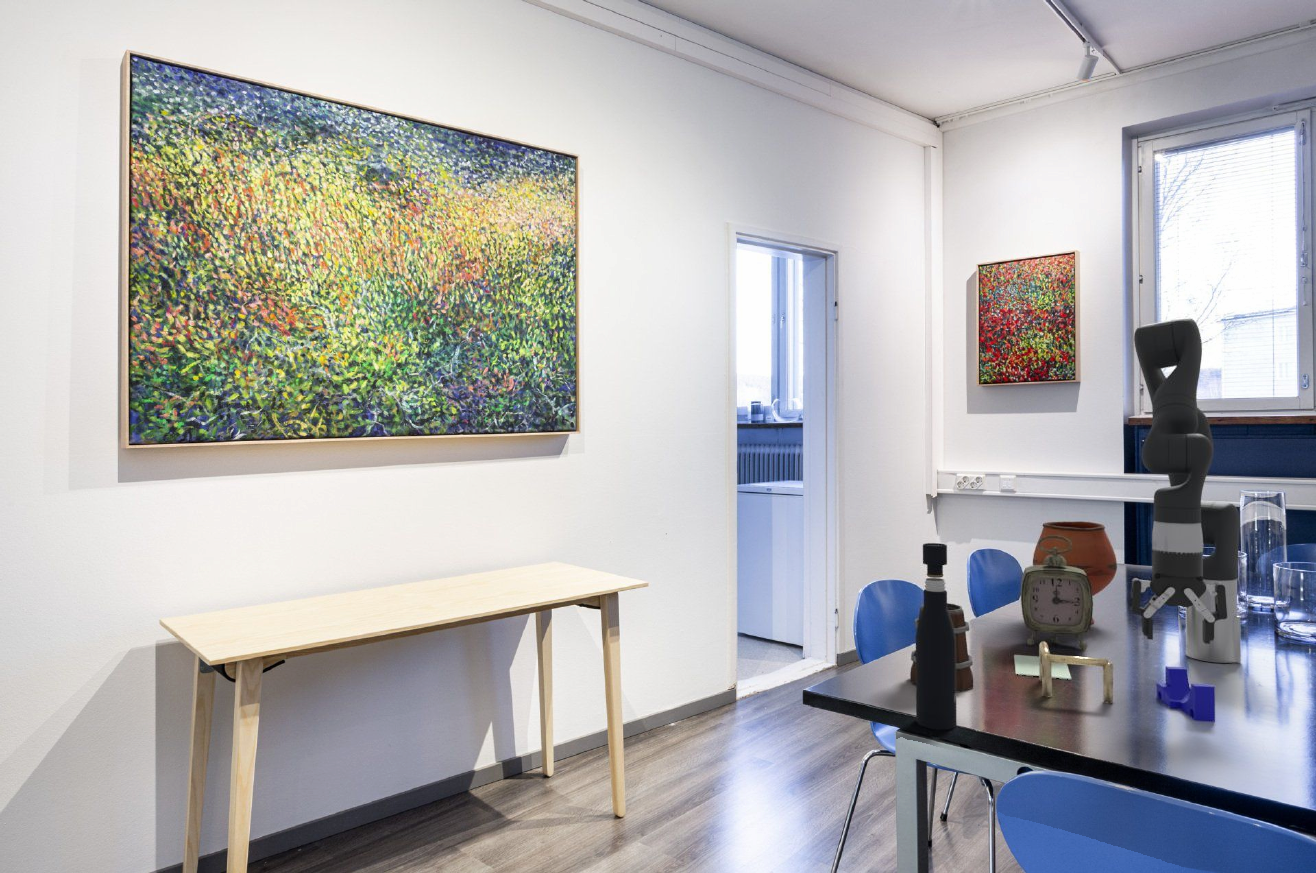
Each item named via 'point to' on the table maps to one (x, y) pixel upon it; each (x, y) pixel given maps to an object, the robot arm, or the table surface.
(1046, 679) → the wire track
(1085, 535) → the terracotta pot
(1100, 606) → the table surface
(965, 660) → the mug
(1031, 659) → the pad
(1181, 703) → the cable clip
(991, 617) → the table surface
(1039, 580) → the tabletop clock
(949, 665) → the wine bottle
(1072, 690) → the table surface
